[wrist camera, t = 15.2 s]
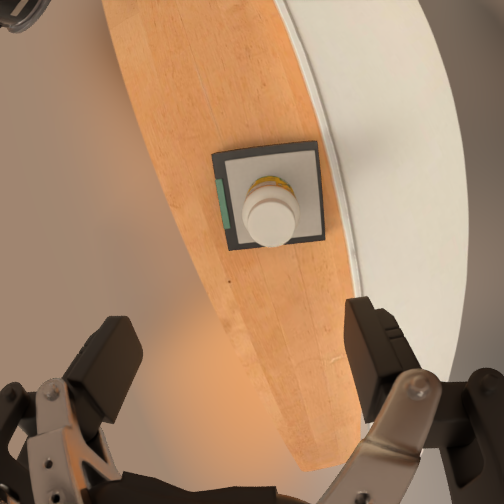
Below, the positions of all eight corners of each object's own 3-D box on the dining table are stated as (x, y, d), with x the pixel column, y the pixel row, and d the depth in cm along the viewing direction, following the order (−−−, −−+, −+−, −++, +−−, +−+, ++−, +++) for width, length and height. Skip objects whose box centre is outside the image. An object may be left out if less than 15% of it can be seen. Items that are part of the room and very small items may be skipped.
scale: (230, 244, 38) (228, 252, 35) (214, 153, 33) (210, 154, 31) (322, 234, 36) (326, 242, 34) (314, 140, 32) (318, 141, 29)
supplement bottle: (241, 181, 32) (229, 202, 23) (287, 169, 31) (295, 184, 22) (254, 225, 34) (249, 261, 25) (299, 214, 33) (310, 246, 24)
